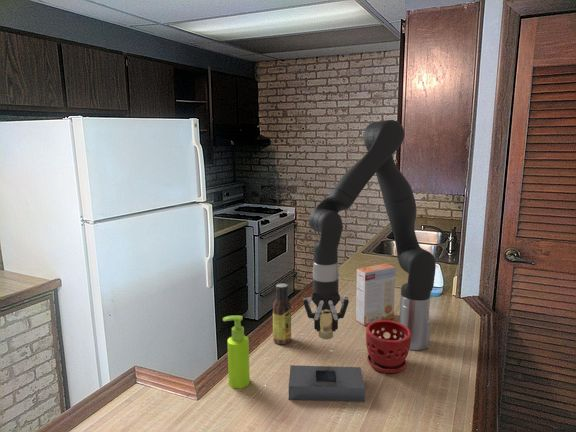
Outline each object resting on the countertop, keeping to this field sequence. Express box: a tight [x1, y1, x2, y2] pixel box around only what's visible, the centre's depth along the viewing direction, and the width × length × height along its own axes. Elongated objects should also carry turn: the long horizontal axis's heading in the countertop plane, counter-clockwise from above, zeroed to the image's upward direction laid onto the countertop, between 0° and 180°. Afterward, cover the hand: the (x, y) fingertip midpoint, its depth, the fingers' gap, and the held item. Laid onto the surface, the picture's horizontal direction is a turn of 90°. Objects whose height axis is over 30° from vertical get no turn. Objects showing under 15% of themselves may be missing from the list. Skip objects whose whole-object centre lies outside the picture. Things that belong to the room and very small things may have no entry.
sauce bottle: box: [272, 283, 292, 345], centre depth 140 cm, size 6×6×20 cm
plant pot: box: [365, 320, 411, 374], centre depth 125 cm, size 13×13×12 cm
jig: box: [288, 364, 366, 403], centre depth 114 cm, size 20×10×4 cm, turn 87°
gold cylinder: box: [318, 309, 334, 340], centre depth 124 cm, size 4×4×8 cm
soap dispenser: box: [222, 314, 251, 389], centre depth 116 cm, size 6×7×20 cm
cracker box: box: [355, 263, 397, 327], centre depth 155 cm, size 14×6×21 cm, turn 115°
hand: (325, 330), depth 125 cm, fingers closed on gold cylinder, 4 cm apart
